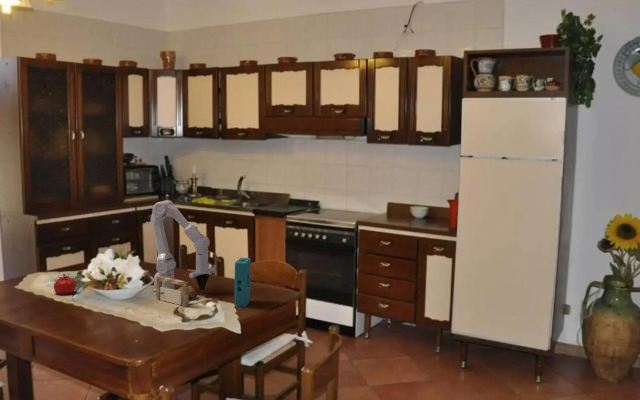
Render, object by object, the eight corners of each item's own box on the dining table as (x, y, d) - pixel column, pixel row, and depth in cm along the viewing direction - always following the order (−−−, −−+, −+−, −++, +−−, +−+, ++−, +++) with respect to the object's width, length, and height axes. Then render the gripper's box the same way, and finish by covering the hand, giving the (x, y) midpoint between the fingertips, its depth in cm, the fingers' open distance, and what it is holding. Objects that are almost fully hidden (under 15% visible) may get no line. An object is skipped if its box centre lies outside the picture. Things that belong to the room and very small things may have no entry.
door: (158, 300, 277) (158, 287, 277) (162, 299, 279) (162, 286, 278) (181, 306, 269) (181, 292, 268) (184, 305, 271) (184, 291, 270)
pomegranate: (71, 296, 282) (70, 277, 281) (50, 295, 282) (49, 276, 281) (80, 290, 292) (79, 271, 291) (59, 289, 292) (59, 271, 291)
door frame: (156, 299, 279) (156, 276, 278) (159, 298, 281) (159, 275, 279) (185, 307, 268) (185, 282, 267) (188, 306, 270) (188, 282, 269)
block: (245, 307, 269) (245, 263, 267) (234, 307, 270) (234, 263, 268) (250, 300, 281) (251, 258, 279) (240, 299, 282) (240, 257, 280)
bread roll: (178, 309, 277) (182, 295, 274) (169, 295, 284) (172, 282, 281) (198, 305, 284) (201, 292, 280) (188, 292, 290) (192, 279, 287)
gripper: (196, 265, 281) (196, 294, 283) (218, 260, 293) (218, 288, 295) (186, 263, 285) (186, 291, 287) (208, 258, 297) (208, 285, 299)
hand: (202, 289), depth 291 cm, fingers closed
